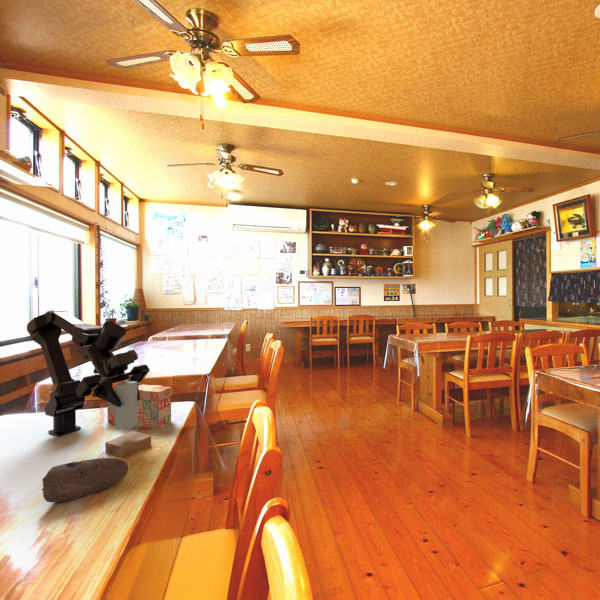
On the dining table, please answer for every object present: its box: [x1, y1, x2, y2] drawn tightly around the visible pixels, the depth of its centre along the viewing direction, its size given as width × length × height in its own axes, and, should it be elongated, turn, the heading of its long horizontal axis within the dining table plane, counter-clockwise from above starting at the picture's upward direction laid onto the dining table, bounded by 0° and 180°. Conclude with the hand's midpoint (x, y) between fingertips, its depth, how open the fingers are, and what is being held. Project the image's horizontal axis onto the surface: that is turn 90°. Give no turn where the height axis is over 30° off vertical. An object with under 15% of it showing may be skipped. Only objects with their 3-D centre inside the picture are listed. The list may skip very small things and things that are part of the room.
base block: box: [104, 430, 152, 459], centre depth 85 cm, size 8×8×3 cm
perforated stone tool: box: [41, 457, 129, 503], centre depth 66 cm, size 15×5×7 cm, turn 122°
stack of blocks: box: [106, 384, 172, 430], centre depth 104 cm, size 21×6×12 cm, turn 74°
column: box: [114, 381, 138, 430], centre depth 85 cm, size 4×4×12 cm
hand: (129, 403), depth 85 cm, fingers closed on column, 5 cm apart
